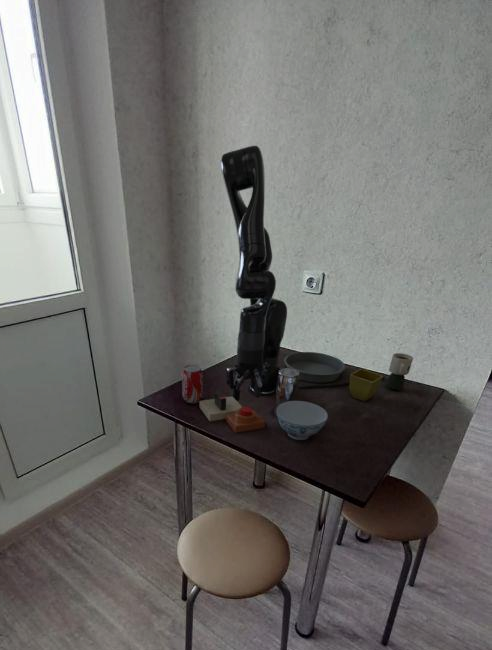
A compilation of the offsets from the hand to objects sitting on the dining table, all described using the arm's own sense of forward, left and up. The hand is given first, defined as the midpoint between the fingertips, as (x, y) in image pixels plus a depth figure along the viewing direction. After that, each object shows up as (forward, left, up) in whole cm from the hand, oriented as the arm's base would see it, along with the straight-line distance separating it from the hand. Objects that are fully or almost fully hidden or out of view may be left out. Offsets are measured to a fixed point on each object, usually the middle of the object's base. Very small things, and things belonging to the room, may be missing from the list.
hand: (246, 398), depth 123 cm
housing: (0, 0, -9) cm, 9 cm away
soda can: (+10, -21, -9) cm, 25 cm away
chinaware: (-13, +11, -9) cm, 20 cm away
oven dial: (+5, -9, -7) cm, 12 cm away
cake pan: (-45, -30, -9) cm, 55 cm away
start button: (0, 0, -5) cm, 5 cm away
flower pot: (-49, -4, -9) cm, 50 cm away
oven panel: (+4, -10, -9) cm, 14 cm away
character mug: (-67, -7, -9) cm, 68 cm away
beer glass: (-15, -2, -9) cm, 18 cm away
